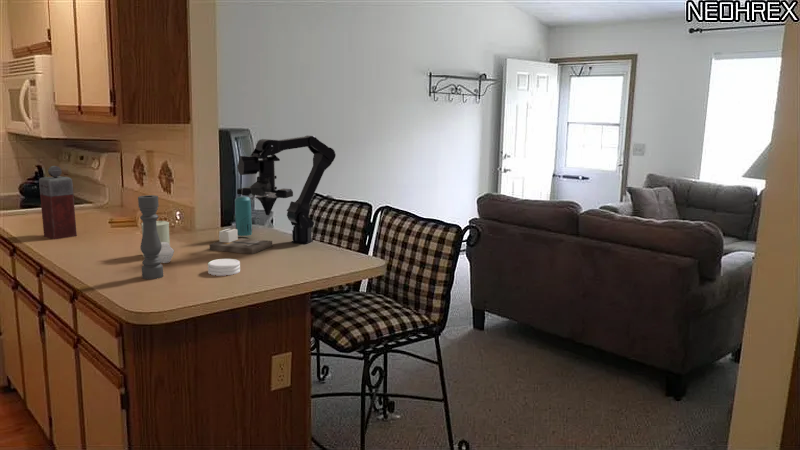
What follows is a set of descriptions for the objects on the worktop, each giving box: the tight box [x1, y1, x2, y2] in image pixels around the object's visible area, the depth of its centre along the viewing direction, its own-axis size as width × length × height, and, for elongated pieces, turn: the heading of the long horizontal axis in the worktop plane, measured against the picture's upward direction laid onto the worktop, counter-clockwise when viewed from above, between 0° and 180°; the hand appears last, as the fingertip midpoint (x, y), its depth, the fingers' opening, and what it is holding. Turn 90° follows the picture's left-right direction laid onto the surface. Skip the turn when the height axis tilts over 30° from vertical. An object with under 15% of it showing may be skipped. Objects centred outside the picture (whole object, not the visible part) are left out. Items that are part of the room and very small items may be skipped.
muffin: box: [158, 242, 175, 264], centre depth 219 cm, size 6×6×7 cm
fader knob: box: [218, 228, 239, 243], centre depth 243 cm, size 4×6×4 cm, turn 161°
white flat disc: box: [207, 258, 241, 277], centre depth 207 cm, size 10×10×4 cm
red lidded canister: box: [38, 165, 78, 240], centre depth 257 cm, size 9×11×28 cm
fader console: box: [209, 237, 273, 255], centre depth 242 cm, size 18×14×2 cm
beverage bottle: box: [234, 187, 253, 237], centre depth 258 cm, size 6×7×20 cm
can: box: [140, 220, 171, 258], centre depth 228 cm, size 9×9×12 cm
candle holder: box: [137, 194, 164, 280], centre depth 199 cm, size 6×6×25 cm
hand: (267, 215), depth 243 cm, fingers closed
